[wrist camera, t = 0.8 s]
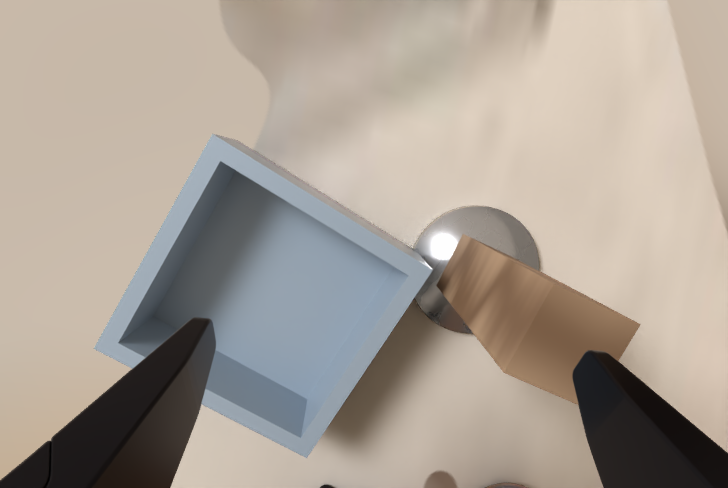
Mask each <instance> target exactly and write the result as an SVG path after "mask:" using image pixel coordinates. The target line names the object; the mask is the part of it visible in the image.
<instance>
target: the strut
mask: <svg viewBox="0 0 728 488" xmlns="http://www.w3.org/2000/svg"><path fill="white" fill-rule="evenodd" d="M436 286H437V287H438V289H439V290H440V291H441V292H442V294H443V295H444V296H445V298H446V299H447V300H448V301H449V303H450V304H451V305H452V307H453V308H454V309H455V310H456V312H457V313H458V314H459V316H460V317H461V318H462V319H463V321H464V322H465V323H466V325H467V326H468V327H469V328H470V330H471V331H472V332H473V334H474V335H475V336H476V337H477V339H478V340H479V341H480V343H481V344H482V345H483V346H484V348H485V349H486V350H487V352H488V353H489V354H490V355H491V357H492V358H493V359H494V361H495V362H496V363H497V364H498V366H499V367H500V368H501V370H502V371H503V372H504V373H506V374H508V375H511V376H513V377H515V378H518V379H520V380H522V381H524V382H527V383H529V384H531V385H534V386H536V387H538V388H541V389H543V390H545V391H548V392H550V393H552V394H555V395H557V396H559V397H561V398H564V399H566V400H568V401H571V402H573V403H575V404H578V400H577V396H576V392H575V388H574V384H573V379H572V374H573V370H574V368H575V367H576V365H577V364H578V362H579V361H580V359H581V358H582V356H583V355H584V353H585V352H586V351H588V350H598V351H605V352H607V353H609V354H610V355H611V356H612V357H614V358H615V359H616V360H617V361H618V360H619V359H620V357H621V356H622V354H623V352H624V351H625V349H626V347H627V346H628V344H629V342H630V341H631V339H632V338H633V336H634V334H635V333H636V331H637V329H638V328H639V326H640V324H639V323H637V322H635V321H633V320H631V319H629V318H627V317H625V316H624V315H622V314H620V313H618V312H616V311H614V310H612V309H610V308H608V307H606V306H605V305H603V304H601V303H599V302H597V301H595V300H593V299H591V298H589V297H588V296H586V295H584V294H582V293H580V292H578V291H576V290H574V289H572V288H570V287H569V286H567V285H565V284H563V283H561V282H559V281H557V280H555V279H553V278H551V277H550V276H548V275H546V274H544V273H542V272H540V271H538V270H536V269H534V268H532V267H531V266H529V265H527V264H525V263H523V262H521V261H519V260H517V259H515V258H513V257H511V256H509V255H507V254H505V253H503V252H501V251H499V250H497V249H494V248H492V247H490V246H488V245H486V244H484V243H482V242H480V241H478V240H475V239H473V238H471V237H469V236H467V235H465V234H463V235H462V236H461V238H460V240H459V242H458V244H457V246H456V248H455V250H454V252H453V254H452V256H451V258H450V260H449V262H448V264H447V266H446V268H445V269H444V271H443V273H442V275H441V277H440V279H439V281H438V283H437V285H436ZM578 405H579V404H578Z"/></svg>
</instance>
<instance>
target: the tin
mask: <svg viewBox="0 0 728 488" xmlns="http://www.w3.org/2000/svg"><path fill="white" fill-rule="evenodd" d="M486 488H527V487H525V486H522V485H518V484H513V483H500V484H495V485H491V486H488V487H486Z"/></svg>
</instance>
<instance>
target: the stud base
mask: <svg viewBox="0 0 728 488" xmlns="http://www.w3.org/2000/svg"><path fill="white" fill-rule="evenodd" d="M463 234H465V235H467V236H469V237H471V238H473V239H475V240H478V241H480V242H482V243H484V244H486V245H488V246H490V247H492V248H494V249H497V250H499V251H501V252H503V253H505V254H507V255H509V256H511V257H513V258H515V259H517V260H519V261H521V262H523V263H525V264H527V265H529V266H531V267H532V268H534V269H536V270H538V271H539V257H538V252H537V248H536V245H535V243H534V240H533V238H532V237H531V235H530V233H529V232H528V230H527V229H526V228H525V227H524V226H523V225H522V223H521V222H520V221H518V220H517V219H516V218H514V217H513V216H511V215H510V214H508V213H506V212H504V211H501V210H499V209H495V208H491V207H487V206H465V207H460V208H457V209H453V210H451V211H449V212H446V213H444V214H443V215H441V216H439V217H438V218H436V219H435V220H434V221H433V222H431V223H430V224H429V225H428V226H427V227H426V228H425V229H424V231H423V232H422V233H421V235H420V236H419V238H418V240H417V241H416V243H415V245H414V248H413V250H414V251H415V252H417V253H418V254H419V255H420V256H421V257H422V258H423V259H424V260H425V262H426V263H427V264H428V265H429V266H430V267H431V268H432V270H433V271H432V272H431V274H430V275H429V277H428V278H427V280H426V281H425V283H424V284H423V286H422V287H421V288H420V290H419V291H418V293H417V294H416V296H415V299H416V301H417V303H418V304H419V306H420V308H421V309H422V310H423V312H424V313H425V314H426V315H427V316H428V317H429V318H430V319H431V320H433V321H434V322H435V323H437V324H438V325H440V326H442V327H444V328H446V329H449V330H452V331H456V332H461V333H473V332H472V331H471V330H470V328H469V327H468V326H467V325H466V323H465V322H464V321H463V319H462V318H461V317H460V316H459V314H458V313H457V312H456V310H455V309H454V308H453V307H452V305H451V304H450V303H449V301H448V300H447V299H446V298H445V296H444V295H443V294H442V292H441V291H440V290H439V289H438V287H437V286H436V285H437V283H438V281H439V279H440V277H441V275H442V273H443V271H444V269H445V268H446V266H447V264H448V262H449V260H450V258H451V256H452V254H453V252H454V250H455V248H456V246H457V244H458V242H459V240H460V238H461V236H462V235H463Z"/></svg>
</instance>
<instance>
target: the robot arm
mask: <svg viewBox="0 0 728 488" xmlns="http://www.w3.org/2000/svg"><path fill="white" fill-rule="evenodd" d="M215 350H216V338H215V332H214V326H213V321H212V320H211V319H210V318H201V317H194V318H192V319H190V320H189V321H188V322H187V323H186V324H184V325H183V326H182V327H181V328H180V329H179V330H177V331H176V332H175V333H174V334H173V335H171V336H170V337H169V338H168V339H167V340H166V341H164V342H163V343H162V344H161V345H160V346H159V347H157V348H156V349H155V350H154V351H153V352H152V353H150V354H149V355H148V356H147V357H146V358H144V359H143V360H142V361H141V362H140V363H139V364H137V365H136V366H135V367H134V368H133V369H132V370H130V371H129V372H128V373H127V374H126V375H125V376H123V377H122V378H121V379H120V380H119V381H117V382H116V383H115V384H114V385H113V386H112V387H110V388H109V389H108V390H107V391H106V392H105V393H103V394H102V395H101V396H100V397H99V398H98V399H97V400H95V401H94V402H93V403H92V404H91V405H89V406H88V407H87V408H86V409H85V410H83V411H82V412H81V413H80V414H79V415H78V416H76V417H75V418H74V419H73V420H72V421H71V422H69V423H68V424H67V425H66V426H65V427H64V428H62V429H61V430H60V431H59V432H58V433H56V434H55V435H54V436H53V437H52V439H51V441H47V442H46V443H44V444H43V445H42V446H41V447H40V448H39V449H37V450H36V451H35V452H34V453H33V454H32V455H30V456H29V457H28V458H27V459H26V460H24V461H23V462H22V463H21V464H19V466H17V467H16V468H15V469H13V470H12V471H11V472H10V473H9V474H7V475H6V476H5V477H4V478H2V479H1V480H0V488H170V487H171V484H172V482H173V479H174V476H175V474H176V471H177V469H178V466H179V464H180V461H181V458H182V456H183V453H184V451H185V448H186V445H187V443H188V440H189V438H190V435H191V433H192V430H193V427H194V425H195V422H196V419H197V417H198V414H199V410H200V407H201V403H202V400H203V396H204V392H205V388H206V384H207V381H208V377H209V373H210V369H211V365H212V362H213V358H214V354H215ZM572 379H573V384H574V388H575V392H576V396H577V400H578V404H579V409H580V413H581V417H582V421H583V425H584V429H585V433H586V437H587V441H588V444H589V447H590V450H591V453H592V456H593V459H594V461H595V464H596V467H597V470H598V473H599V476H600V479H601V482H602V484H603V487H604V488H728V453H727V452H726V451H725V450H723V449H722V448H721V447H720V446H719V445H717V444H716V443H715V442H714V441H713V440H711V439H710V438H709V437H708V436H707V435H705V434H704V433H703V432H702V431H701V430H700V429H698V428H697V427H696V426H695V425H694V424H692V423H691V422H690V421H689V420H688V419H686V418H685V417H684V416H683V415H682V414H680V413H679V412H678V411H677V410H676V409H674V408H673V407H672V406H671V405H670V404H668V403H667V402H666V401H665V400H664V399H662V398H661V397H660V396H659V395H658V394H657V393H655V392H654V391H653V390H652V389H651V388H649V387H648V386H647V385H646V384H645V383H643V382H642V381H641V380H640V379H639V378H637V377H636V376H635V375H634V374H633V373H631V372H630V371H629V370H628V369H627V368H625V367H624V366H623V365H622V364H621V363H620V362H618V361H617V360H616V359H615V358H614V357H612V356H611V355H610V354H609V353H607V352H605V351H598V350H588V351H586V352H585V353H584V355H583V356H582V358H581V359H580V361H579V362H578V364H577V365H576V367H575V368H574V370H573V374H572ZM320 488H332V487H330V486H328V485H323V486H321V487H320Z"/></svg>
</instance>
